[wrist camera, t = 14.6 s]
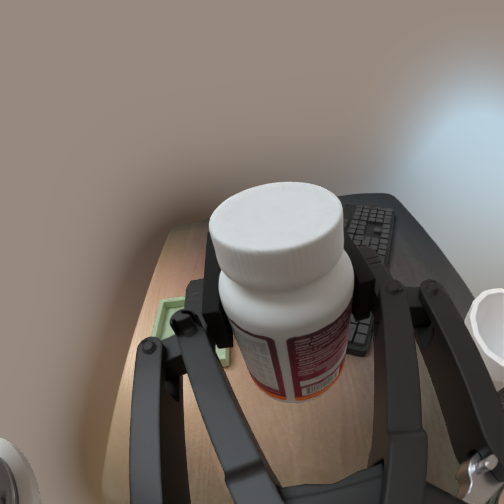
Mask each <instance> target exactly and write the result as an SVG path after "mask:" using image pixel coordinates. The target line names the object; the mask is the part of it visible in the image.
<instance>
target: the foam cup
mask: <svg viewBox="0 0 504 504" xmlns="http://www.w3.org/2000/svg"><path fill="white" fill-rule="evenodd" d="M464 323H465V325H466V327H467V329H468V330H469V332H470V334H471V336H472V338H473V340H474V342H475V344H476V346H477V348H478V350H479V352H480V354H481V356H482V359H483V361H484V363H485V365H486V367H487V370H488V372H489V374H490V377H491V379H492V381H493V384H494V386H495V389H496V391H497V392H498V391H499V390H501V389H502V388H503V387H504V289H500V288H495V289H491V290H486V291H483V292H482V293H481V294H480V295H479V296H478V297H477V298H476V299H475V300H474V301H473V303H472V305H471V308H470V310H469V312H468V314H467V316H466V318H465V322H464Z"/></svg>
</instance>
